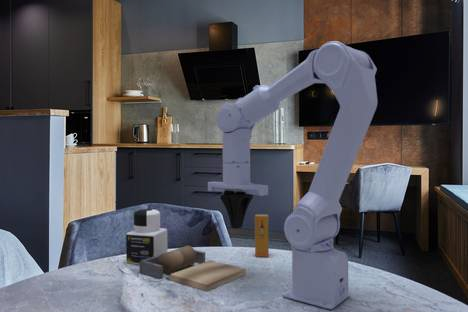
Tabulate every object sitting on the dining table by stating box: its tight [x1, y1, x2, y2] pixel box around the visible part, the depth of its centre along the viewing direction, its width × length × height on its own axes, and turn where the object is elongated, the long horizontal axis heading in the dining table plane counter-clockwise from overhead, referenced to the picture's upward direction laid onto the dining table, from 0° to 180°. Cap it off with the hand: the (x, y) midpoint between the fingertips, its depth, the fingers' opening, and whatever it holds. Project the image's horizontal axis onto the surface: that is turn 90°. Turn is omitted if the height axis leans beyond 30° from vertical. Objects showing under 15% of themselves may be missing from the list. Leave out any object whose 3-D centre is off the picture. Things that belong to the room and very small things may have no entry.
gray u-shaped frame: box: [138, 249, 206, 280], centre depth 88 cm, size 7×14×2 cm, turn 141°
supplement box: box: [254, 213, 270, 258], centre depth 97 cm, size 3×3×10 cm
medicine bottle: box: [125, 208, 168, 265], centre depth 93 cm, size 7×7×12 cm
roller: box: [157, 245, 197, 275], centre depth 87 cm, size 4×8×4 cm
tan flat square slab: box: [165, 260, 247, 292], centre depth 82 cm, size 11×12×1 cm
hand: (236, 227), depth 83 cm, fingers closed
